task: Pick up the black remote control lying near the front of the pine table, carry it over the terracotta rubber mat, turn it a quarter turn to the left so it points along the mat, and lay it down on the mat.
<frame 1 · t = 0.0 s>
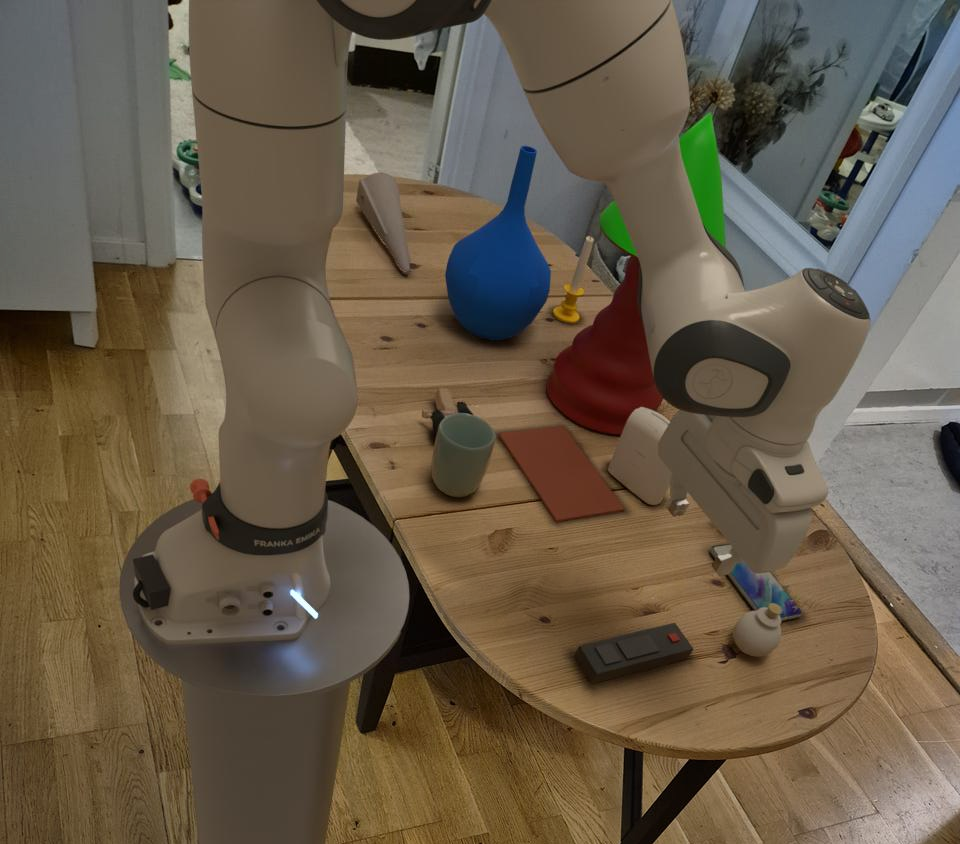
hand: (696, 540, 92), 19 cm above the table, tool pointing down, fingers open, 8 cm apart
photo printer: (633, 486, 129), on the table
smartphone: (752, 584, 120), on the table
grey long tapered piece: (397, 243, 163), on the table
remote: (582, 670, 102), on the table
vase: (486, 326, 150), on the table
cup: (453, 487, 119), on the table
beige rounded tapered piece: (722, 505, 130), on the table
mat: (559, 472, 127), on the table
toy figure: (446, 433, 127), on the table
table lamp: (600, 401, 142), on the table
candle: (565, 316, 158), on the table
ornament: (750, 648, 111), on the table
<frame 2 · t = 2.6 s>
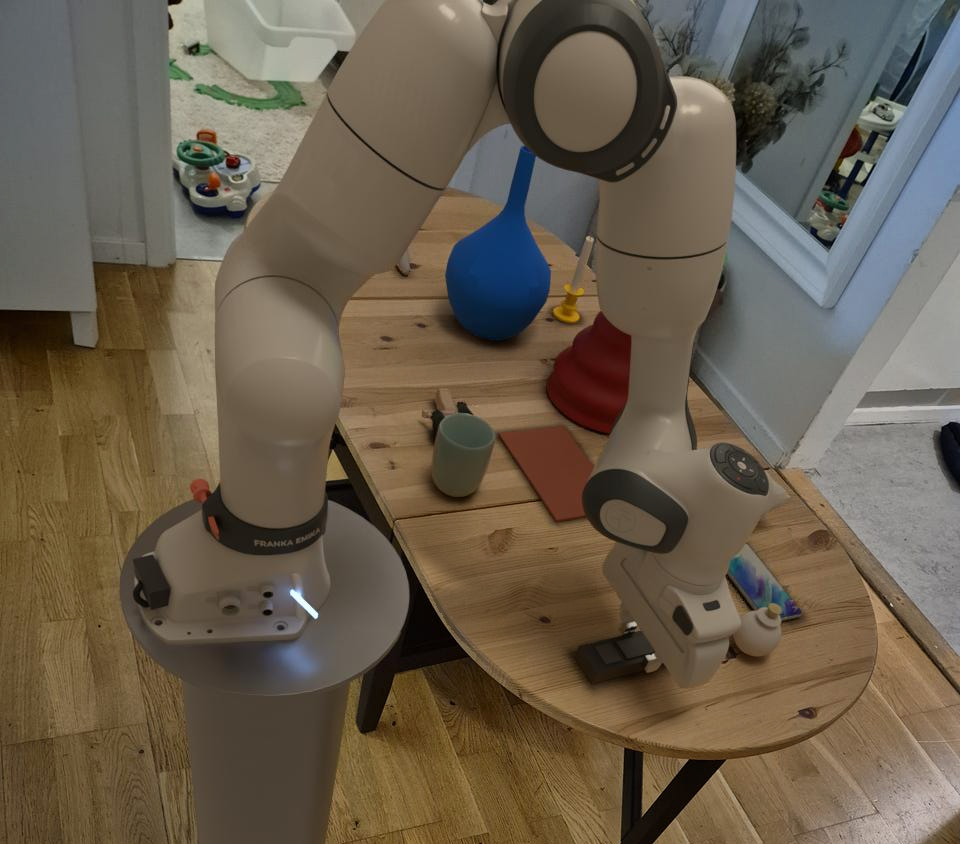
hand: (636, 649, 104), 2 cm above the table, tool pointing down, fingers closed on remote, 4 cm apart
remote: (582, 670, 102), on the table, touching gripper
everything else where it was.
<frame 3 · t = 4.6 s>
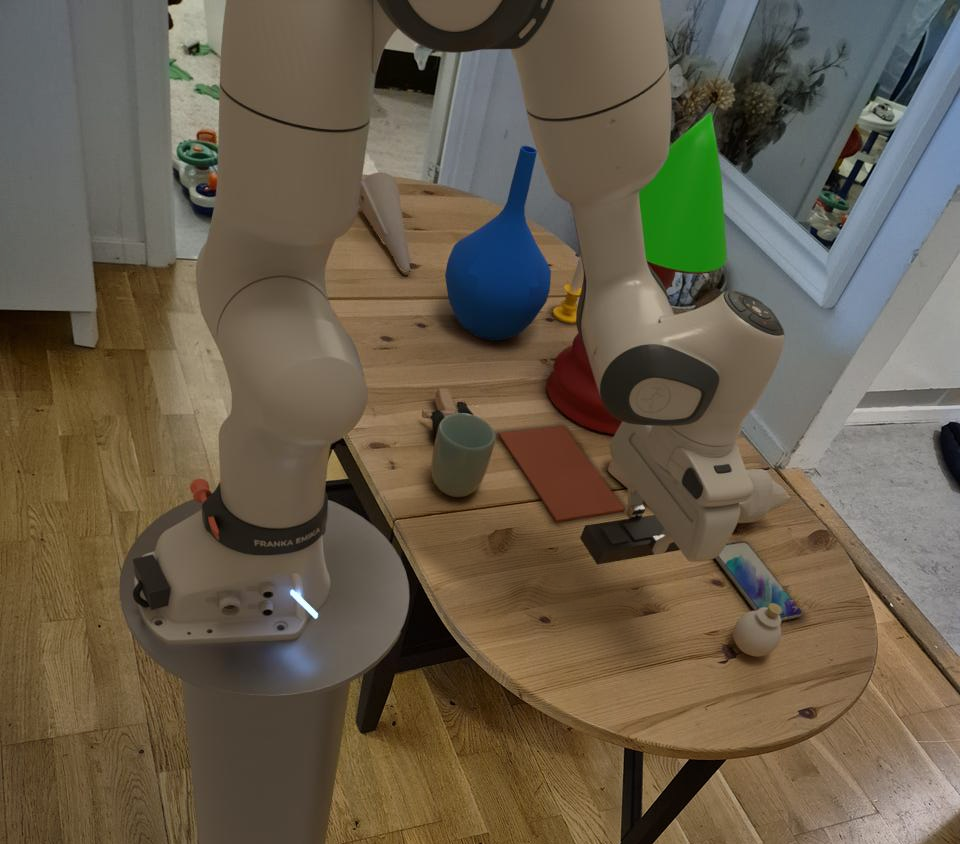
hand: (643, 533, 101), 13 cm above the table, tool pointing down, fingers closed on remote, 4 cm apart
remote: (588, 551, 99), point 11 cm above the table, touching gripper
everything else where it was.
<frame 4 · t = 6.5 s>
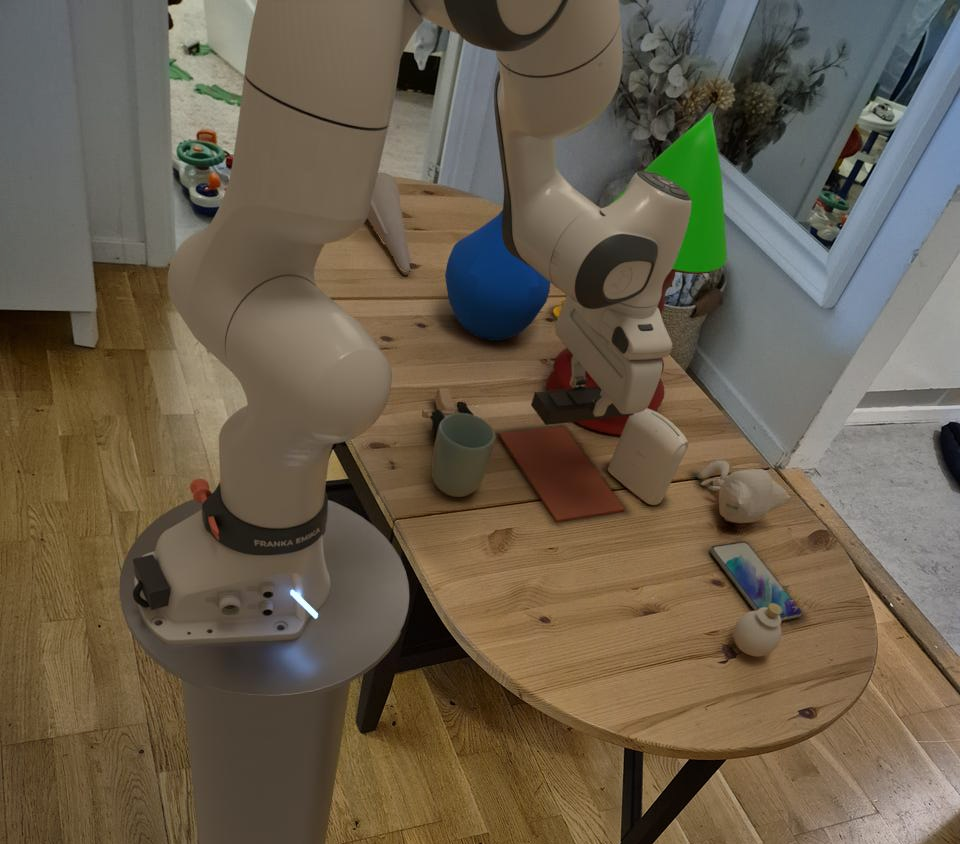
hand: (586, 400, 117), 13 cm above the table, tool pointing down, fingers closed on remote, 4 cm apart
remote: (538, 415, 115), point 11 cm above the table, touching gripper
everything else where it was.
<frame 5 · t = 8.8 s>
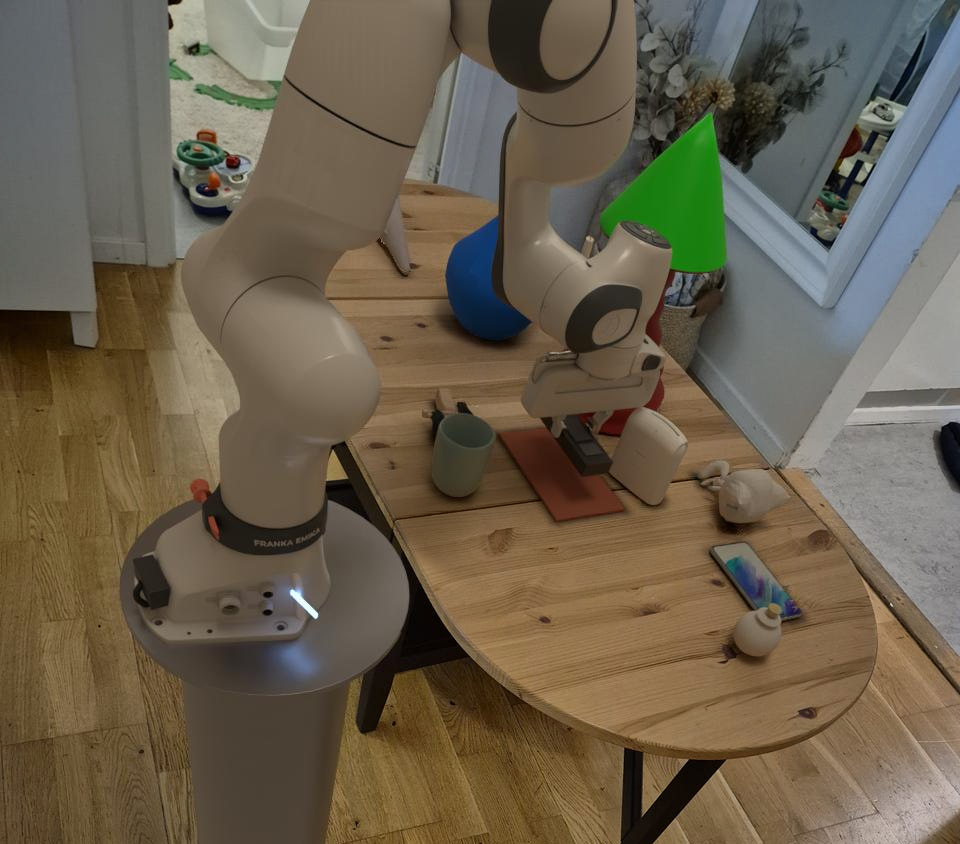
hand: (574, 432, 121), 7 cm above the table, tool pointing down, fingers closed on remote, 4 cm apart
remote: (595, 475, 118), point 6 cm above the table, touching gripper
everything else where it was.
when the fingers open (2 cm above the table, at t = 10.5 s): remote stays where it is, resting on mat.
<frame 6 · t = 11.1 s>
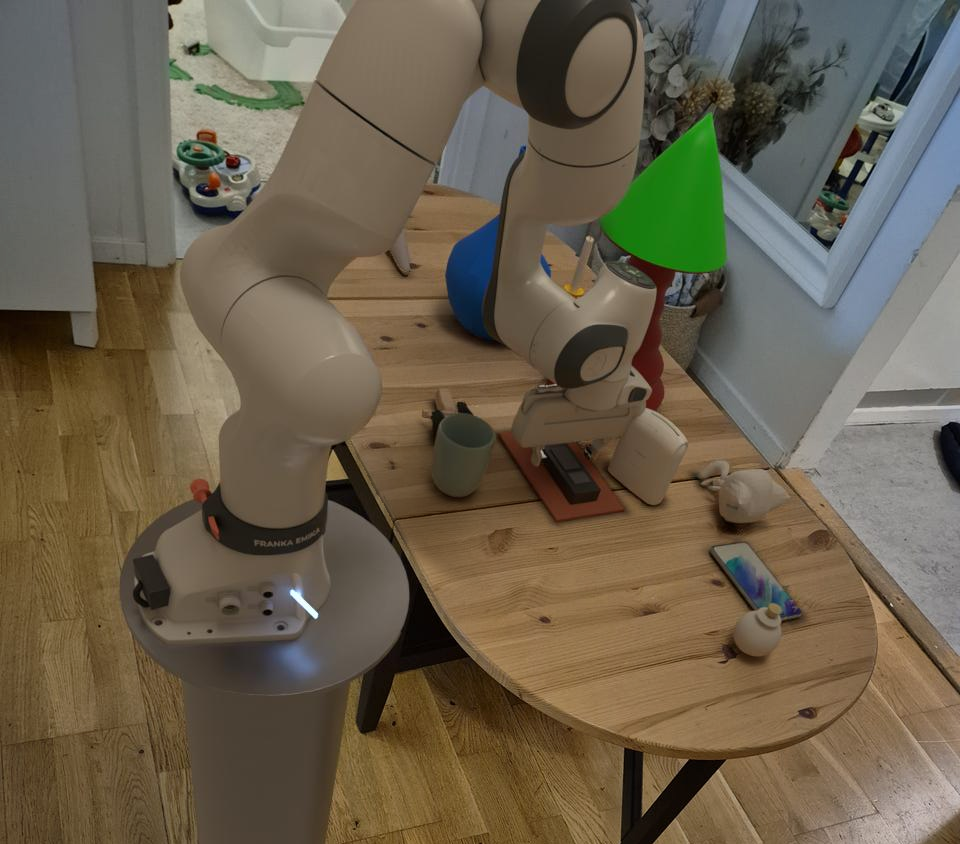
hand: (563, 460, 125), 2 cm above the table, tool pointing down, fingers open, 8 cm apart
remote: (583, 503, 122), resting on mat
everything else where it was.
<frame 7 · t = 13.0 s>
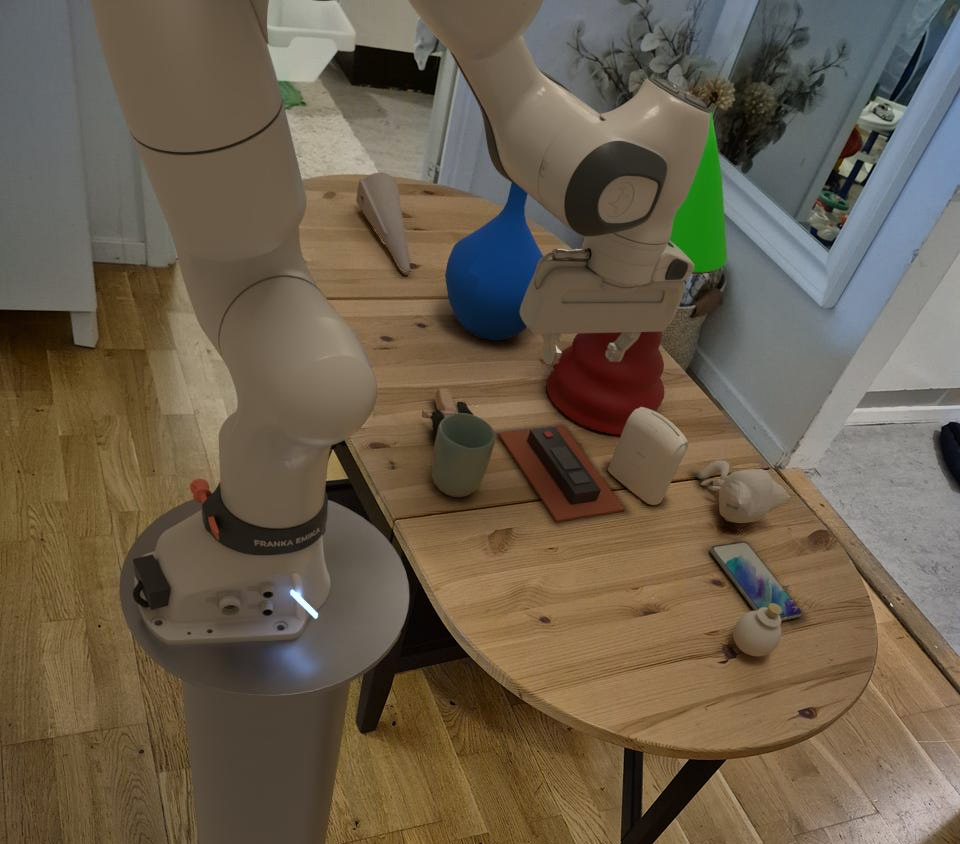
hand: (581, 360, 102), 24 cm above the table, tool pointing down, fingers open, 8 cm apart
nothing on the table moved.
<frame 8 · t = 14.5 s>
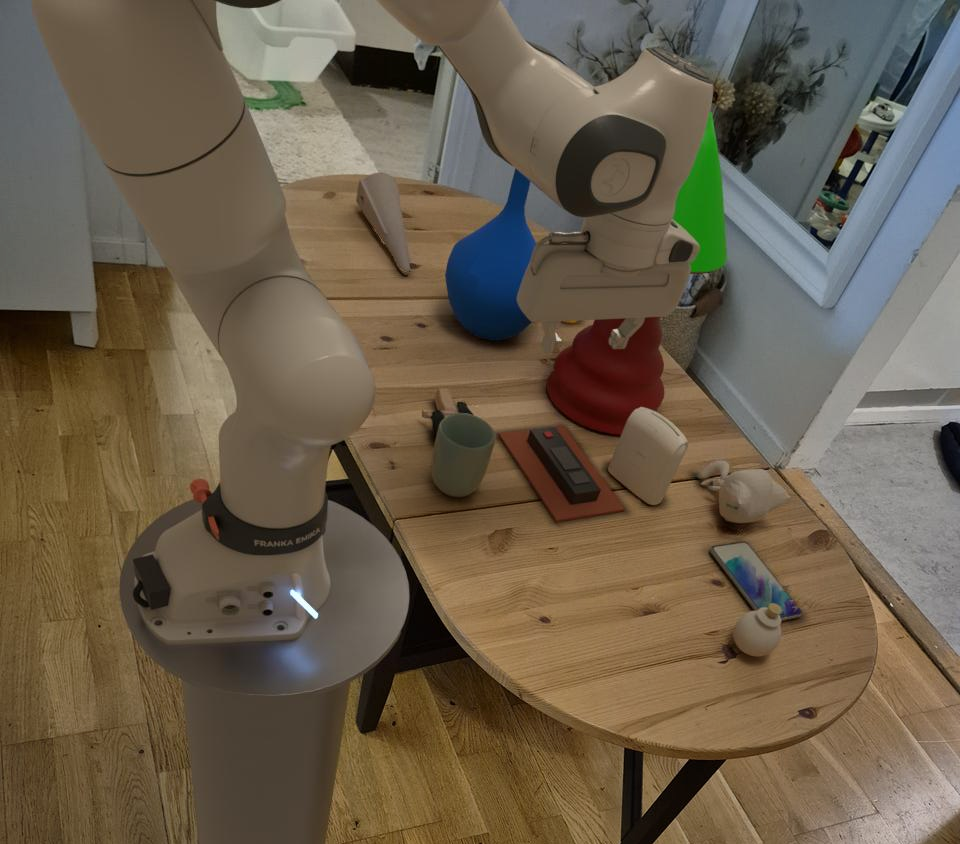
hand: (583, 348, 98), 27 cm above the table, tool pointing down, fingers open, 8 cm apart
nothing on the table moved.
at the end: remote 0.1 cm from the target spot on the mat, point 0.5 cm above the mat's base; remote tilted 0°; remote touching mat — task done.
